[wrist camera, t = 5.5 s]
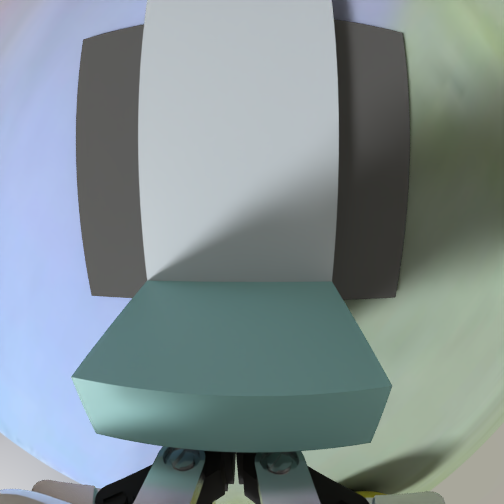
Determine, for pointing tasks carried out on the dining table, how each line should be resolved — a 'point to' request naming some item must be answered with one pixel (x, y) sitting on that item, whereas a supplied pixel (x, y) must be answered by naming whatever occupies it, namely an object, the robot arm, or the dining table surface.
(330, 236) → the sled
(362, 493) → the lemon
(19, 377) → the dining table surface
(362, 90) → the mat
